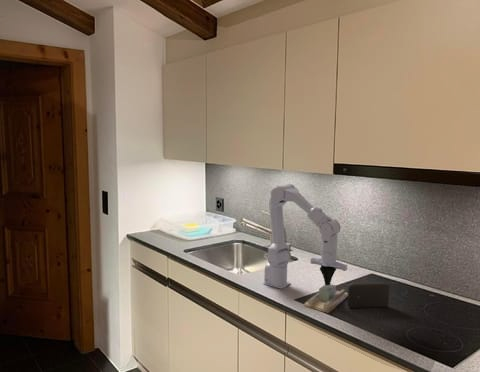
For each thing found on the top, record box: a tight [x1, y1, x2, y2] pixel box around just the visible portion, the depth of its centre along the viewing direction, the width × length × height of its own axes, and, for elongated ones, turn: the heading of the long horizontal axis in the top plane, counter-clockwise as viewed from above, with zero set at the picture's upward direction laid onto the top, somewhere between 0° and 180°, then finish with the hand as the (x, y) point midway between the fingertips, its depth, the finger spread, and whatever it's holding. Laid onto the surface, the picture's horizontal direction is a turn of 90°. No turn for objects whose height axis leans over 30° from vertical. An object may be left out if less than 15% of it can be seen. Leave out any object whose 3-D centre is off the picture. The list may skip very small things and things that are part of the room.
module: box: [318, 283, 337, 302], centre depth 159 cm, size 4×7×4 cm, turn 144°
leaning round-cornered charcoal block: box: [347, 280, 391, 309], centre depth 154 cm, size 16×5×9 cm, turn 96°
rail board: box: [303, 288, 348, 314], centre depth 159 cm, size 10×20×2 cm, turn 144°
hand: (327, 284), depth 158 cm, fingers closed
